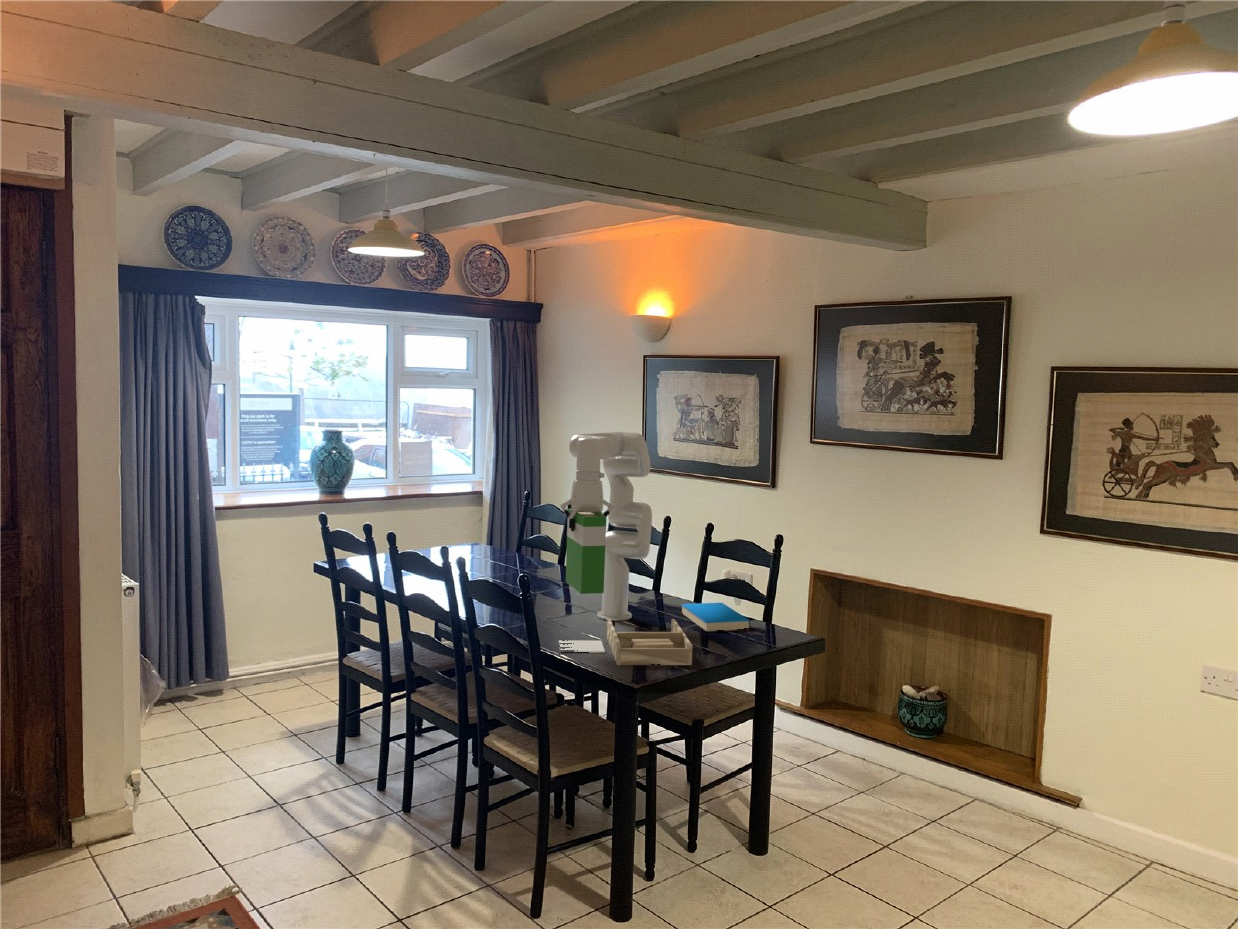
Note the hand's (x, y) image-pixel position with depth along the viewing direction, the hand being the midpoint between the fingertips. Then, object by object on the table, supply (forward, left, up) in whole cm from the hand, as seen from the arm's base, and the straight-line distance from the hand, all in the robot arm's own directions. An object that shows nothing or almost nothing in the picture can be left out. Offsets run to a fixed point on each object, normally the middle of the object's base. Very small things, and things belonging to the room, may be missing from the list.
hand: (586, 530), depth 287 cm
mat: (0, 0, -38) cm, 38 cm away
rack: (+3, +21, -38) cm, 43 cm away
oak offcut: (+12, +21, -35) cm, 43 cm away
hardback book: (0, 0, -18) cm, 18 cm away
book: (-33, +51, -39) cm, 72 cm away
